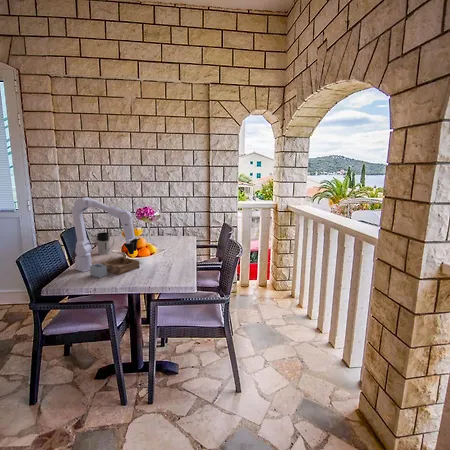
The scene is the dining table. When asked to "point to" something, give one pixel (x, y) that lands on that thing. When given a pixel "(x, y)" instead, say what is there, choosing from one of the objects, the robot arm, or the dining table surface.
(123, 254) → the flower pot
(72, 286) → the dining table surface
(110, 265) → the big crate
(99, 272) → the box
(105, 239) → the grey jug
